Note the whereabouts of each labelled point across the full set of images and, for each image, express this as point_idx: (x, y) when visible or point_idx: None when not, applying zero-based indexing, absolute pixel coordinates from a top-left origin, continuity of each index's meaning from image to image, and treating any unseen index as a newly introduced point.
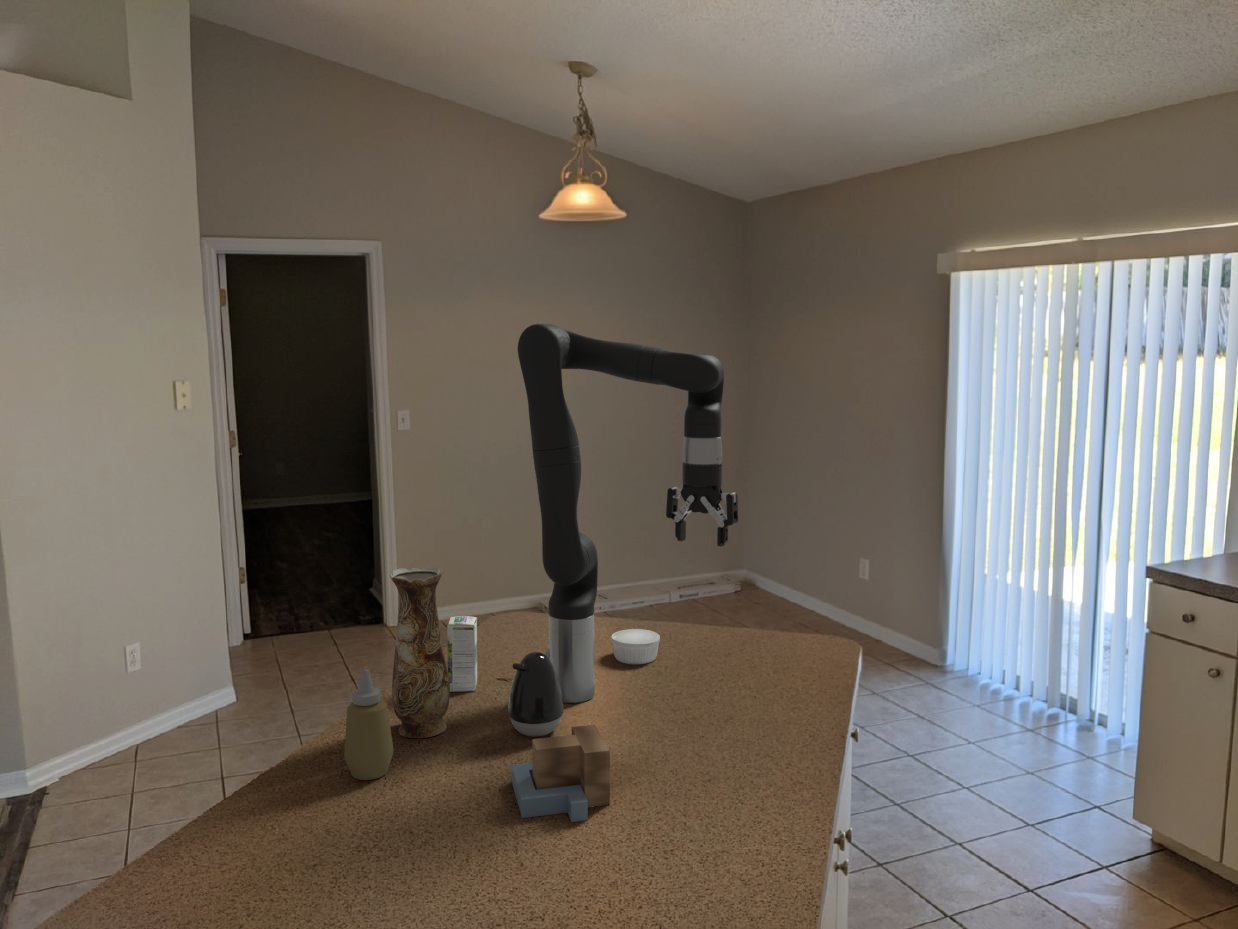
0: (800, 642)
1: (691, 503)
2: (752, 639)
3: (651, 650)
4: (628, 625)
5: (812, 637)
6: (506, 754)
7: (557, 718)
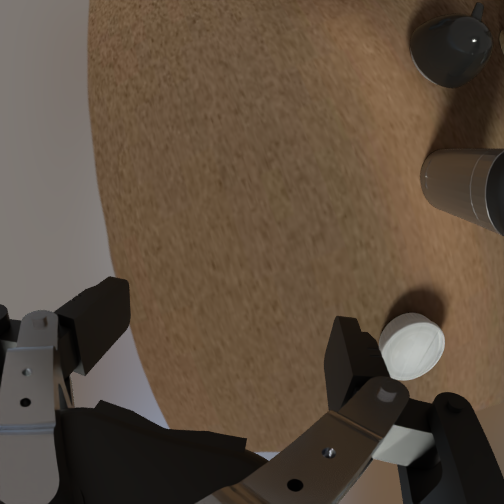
0: (222, 433)
1: (215, 493)
2: (275, 431)
3: (385, 335)
4: None
5: None
6: (423, 5)
7: (410, 41)
